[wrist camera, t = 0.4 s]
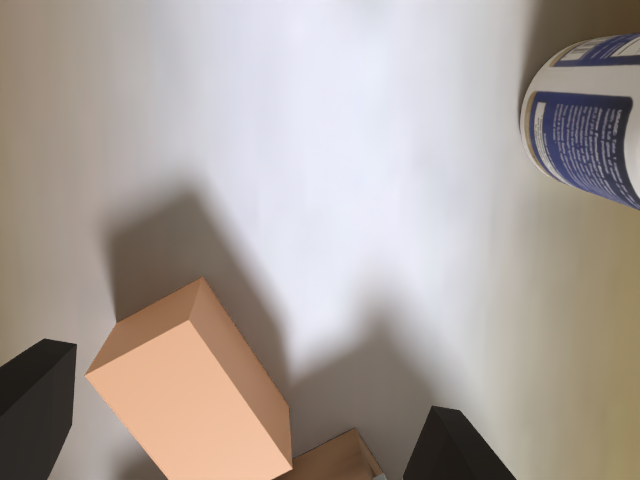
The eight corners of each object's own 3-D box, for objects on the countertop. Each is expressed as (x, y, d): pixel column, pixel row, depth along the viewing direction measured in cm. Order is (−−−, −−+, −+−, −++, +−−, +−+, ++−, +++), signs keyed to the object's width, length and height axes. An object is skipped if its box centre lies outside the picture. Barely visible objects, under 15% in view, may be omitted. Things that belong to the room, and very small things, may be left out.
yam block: (209, 444, 23) (198, 516, 20) (117, 321, 21) (84, 375, 17) (288, 403, 23) (292, 469, 19) (203, 275, 21) (188, 319, 17)
